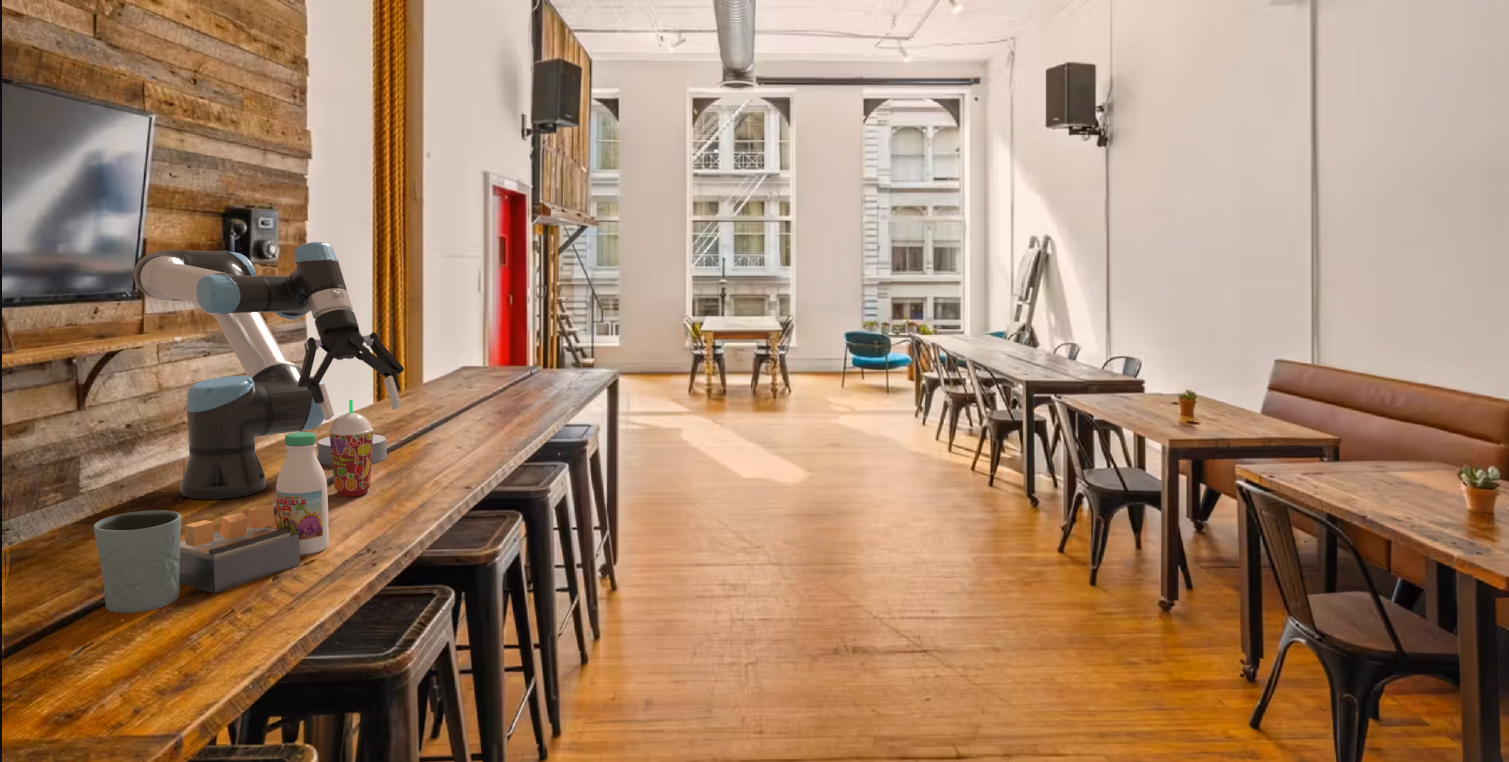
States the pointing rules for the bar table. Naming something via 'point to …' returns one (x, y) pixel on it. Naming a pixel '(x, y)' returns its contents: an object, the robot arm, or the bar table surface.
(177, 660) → the bar table surface
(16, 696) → the bar table surface
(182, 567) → the gray rectangular tray
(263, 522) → the tan wooden block
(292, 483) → the milk bottle
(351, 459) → the smoothie
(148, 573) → the gray green pot
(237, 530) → the small orange block
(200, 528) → the orange tall rectangular block
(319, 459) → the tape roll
